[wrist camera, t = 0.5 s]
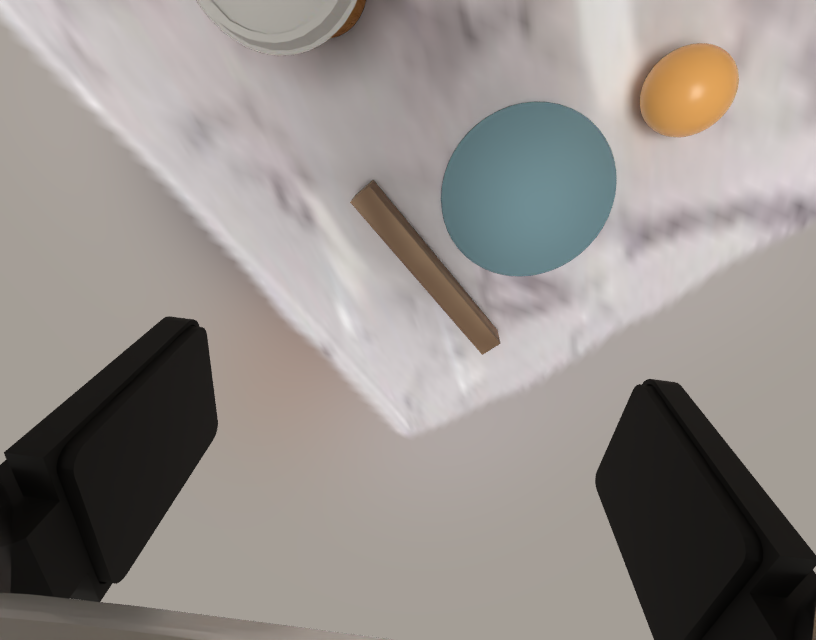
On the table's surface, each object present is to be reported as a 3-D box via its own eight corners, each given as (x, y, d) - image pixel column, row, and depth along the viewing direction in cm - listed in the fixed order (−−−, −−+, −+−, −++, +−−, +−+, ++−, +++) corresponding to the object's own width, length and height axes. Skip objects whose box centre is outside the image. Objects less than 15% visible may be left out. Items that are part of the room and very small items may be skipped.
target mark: (556, 57, 32) (557, 57, 31) (646, 209, 36) (647, 210, 36) (407, 183, 36) (406, 183, 36) (503, 303, 41) (503, 304, 41)
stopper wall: (373, 179, 36) (368, 185, 34) (497, 329, 42) (500, 343, 40) (355, 195, 37) (350, 202, 35) (480, 340, 43) (482, 354, 41)
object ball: (689, 26, 30) (737, 15, 25) (722, 97, 32) (773, 99, 27) (613, 86, 32) (644, 86, 27) (648, 149, 34) (684, 160, 29)
